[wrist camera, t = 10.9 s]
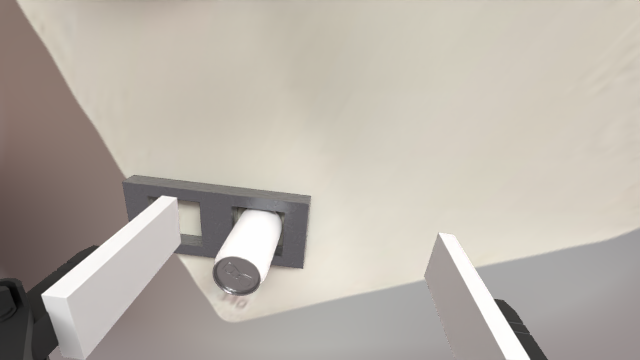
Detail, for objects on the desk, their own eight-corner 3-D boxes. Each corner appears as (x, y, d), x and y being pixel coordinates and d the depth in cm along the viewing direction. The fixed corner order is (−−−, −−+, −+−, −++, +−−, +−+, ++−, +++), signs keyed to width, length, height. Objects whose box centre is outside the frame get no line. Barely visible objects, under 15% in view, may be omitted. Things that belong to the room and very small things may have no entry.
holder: (133, 175, 44) (122, 181, 41) (310, 195, 43) (309, 203, 41) (143, 238, 48) (133, 247, 46) (304, 258, 48) (302, 268, 45)
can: (263, 248, 47) (240, 307, 36) (232, 221, 46) (197, 274, 35) (291, 224, 45) (275, 279, 34) (259, 195, 44) (232, 243, 33)
